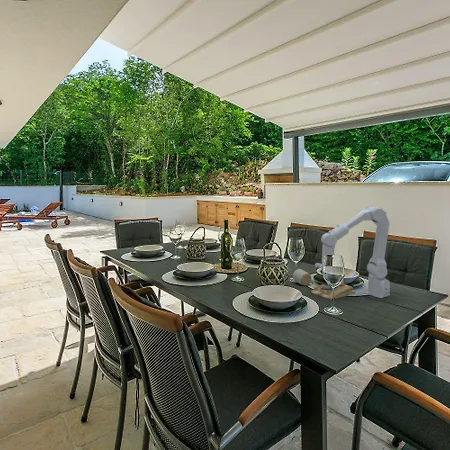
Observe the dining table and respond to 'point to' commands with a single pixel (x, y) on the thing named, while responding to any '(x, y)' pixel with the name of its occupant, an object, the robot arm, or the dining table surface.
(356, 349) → the dining table surface
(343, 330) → the dining table surface
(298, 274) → the grey canister
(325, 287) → the slate button
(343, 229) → the robot arm
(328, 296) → the light wood flat board
